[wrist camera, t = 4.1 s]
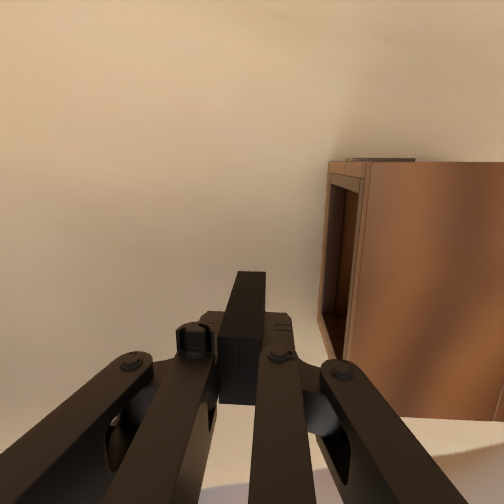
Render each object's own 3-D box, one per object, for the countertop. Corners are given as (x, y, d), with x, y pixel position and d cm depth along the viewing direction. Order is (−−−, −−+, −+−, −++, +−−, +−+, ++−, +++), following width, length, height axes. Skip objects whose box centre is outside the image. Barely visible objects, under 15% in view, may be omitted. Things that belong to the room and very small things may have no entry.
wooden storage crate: (317, 322, 28) (344, 417, 18) (328, 159, 24) (372, 156, 14) (417, 325, 28) (506, 425, 17) (446, 159, 24) (584, 157, 13)
